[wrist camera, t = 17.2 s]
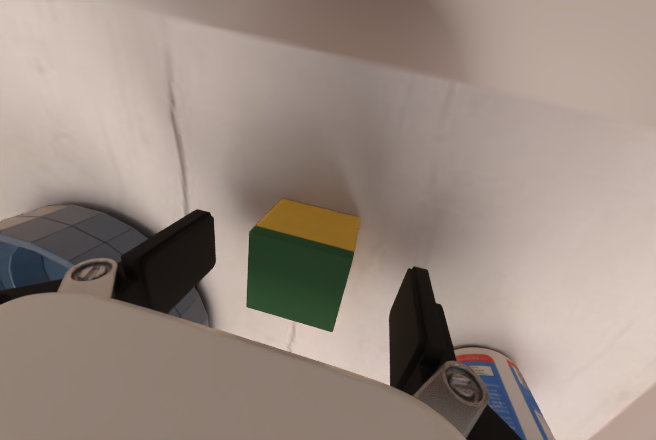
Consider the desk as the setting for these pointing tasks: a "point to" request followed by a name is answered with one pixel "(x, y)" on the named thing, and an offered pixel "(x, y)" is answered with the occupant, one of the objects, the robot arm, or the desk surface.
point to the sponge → (301, 262)
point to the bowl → (71, 249)
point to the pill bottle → (507, 392)
